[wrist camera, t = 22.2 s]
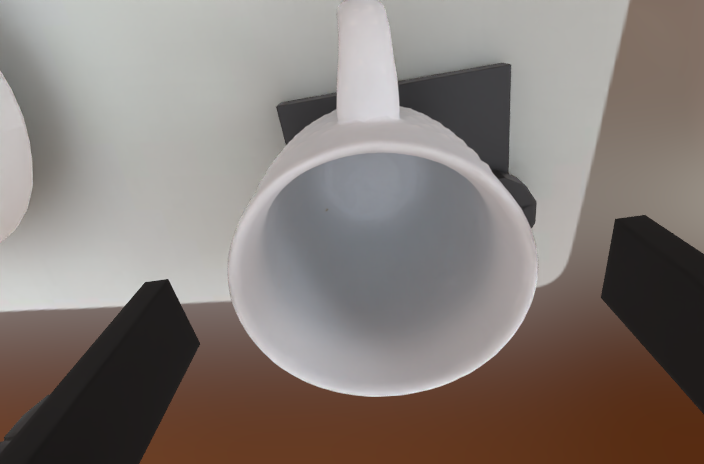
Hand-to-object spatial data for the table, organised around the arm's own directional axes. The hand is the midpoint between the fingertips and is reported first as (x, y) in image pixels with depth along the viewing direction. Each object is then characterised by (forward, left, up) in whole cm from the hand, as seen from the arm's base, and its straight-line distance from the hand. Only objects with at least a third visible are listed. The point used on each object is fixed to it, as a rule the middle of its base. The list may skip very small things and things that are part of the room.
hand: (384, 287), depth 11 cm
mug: (0, 0, -15) cm, 15 cm away
